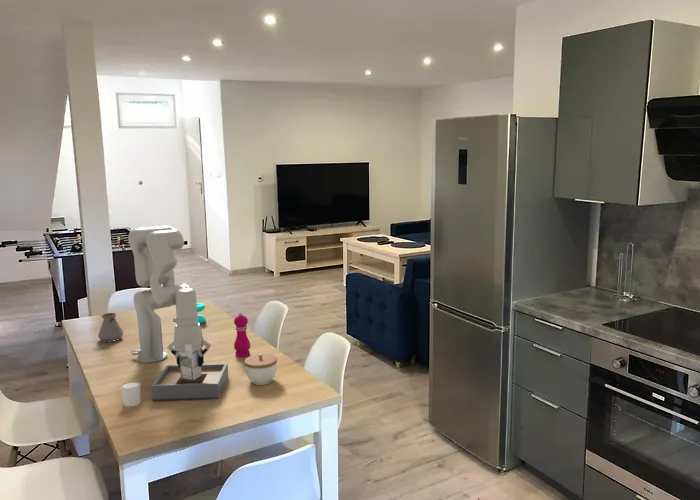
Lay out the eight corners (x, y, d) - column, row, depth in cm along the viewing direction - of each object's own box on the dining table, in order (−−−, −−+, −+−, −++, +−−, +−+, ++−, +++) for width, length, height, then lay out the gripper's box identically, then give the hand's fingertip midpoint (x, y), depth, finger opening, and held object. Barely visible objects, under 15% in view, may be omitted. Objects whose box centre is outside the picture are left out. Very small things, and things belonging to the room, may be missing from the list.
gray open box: (152, 401, 200) (151, 385, 199) (168, 379, 219) (167, 365, 218) (218, 399, 200) (217, 383, 199) (228, 377, 220) (227, 363, 219)
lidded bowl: (263, 390, 207) (262, 362, 205) (238, 383, 214) (237, 357, 212) (284, 378, 218) (283, 352, 216) (260, 372, 224) (259, 347, 223)
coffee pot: (97, 338, 272) (94, 309, 269) (122, 334, 278) (119, 306, 275) (102, 351, 254) (99, 320, 251) (128, 346, 259) (125, 316, 257)
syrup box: (202, 375, 211) (199, 339, 209) (193, 381, 206) (190, 344, 203) (189, 373, 213) (187, 338, 210) (180, 379, 207) (177, 342, 205)
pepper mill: (247, 358, 241) (244, 314, 237) (231, 357, 242) (229, 314, 239) (253, 352, 248) (251, 310, 244) (238, 352, 249) (236, 309, 246)
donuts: (188, 302, 299) (206, 302, 299) (189, 320, 301) (207, 319, 301) (183, 307, 289) (201, 307, 289) (184, 325, 291) (202, 325, 291)
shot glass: (125, 399, 201) (123, 381, 200) (144, 398, 202) (143, 380, 201) (119, 408, 195) (117, 389, 193) (139, 407, 195) (137, 388, 194)
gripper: (161, 324, 201) (164, 370, 204) (208, 323, 202) (211, 368, 205) (166, 318, 209) (170, 362, 212) (212, 317, 209) (215, 361, 212)
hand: (190, 365), depth 208 cm, fingers closed on syrup box, 7 cm apart
